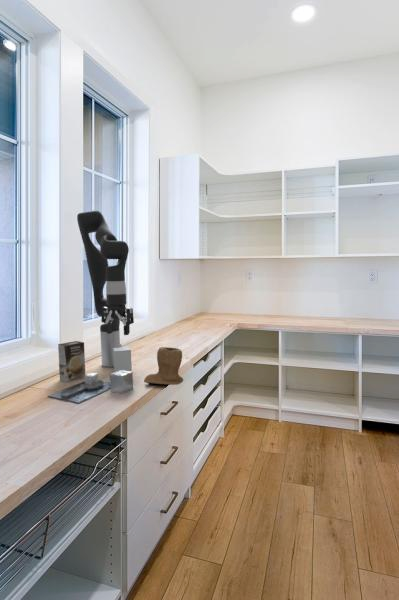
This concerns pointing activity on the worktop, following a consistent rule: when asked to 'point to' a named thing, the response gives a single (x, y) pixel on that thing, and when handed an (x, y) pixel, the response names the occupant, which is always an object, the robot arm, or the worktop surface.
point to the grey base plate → (83, 390)
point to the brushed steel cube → (121, 381)
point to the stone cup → (167, 367)
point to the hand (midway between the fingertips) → (117, 334)
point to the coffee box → (71, 361)
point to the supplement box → (122, 359)
